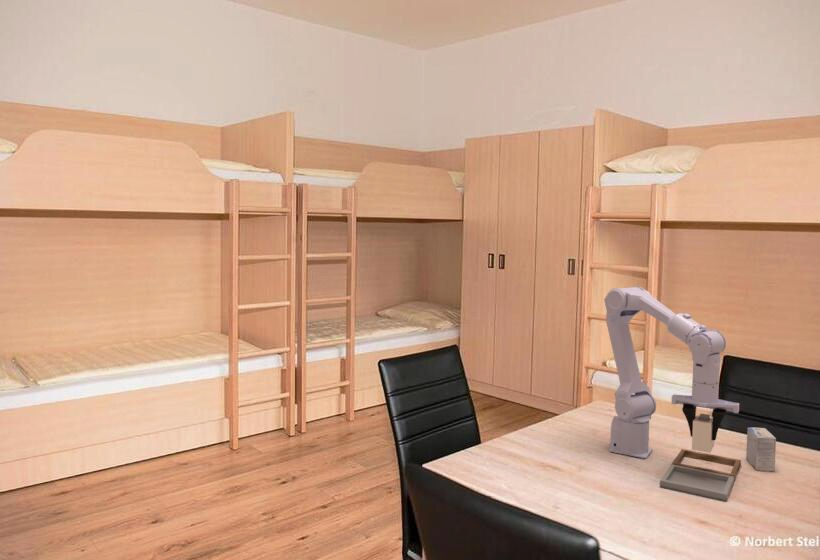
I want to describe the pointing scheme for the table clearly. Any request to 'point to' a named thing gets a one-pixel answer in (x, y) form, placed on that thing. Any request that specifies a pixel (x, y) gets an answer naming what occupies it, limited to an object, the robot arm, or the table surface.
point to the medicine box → (761, 449)
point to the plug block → (702, 433)
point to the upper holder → (708, 457)
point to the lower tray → (697, 482)
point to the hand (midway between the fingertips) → (703, 437)
